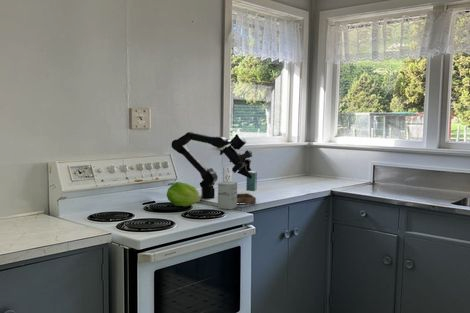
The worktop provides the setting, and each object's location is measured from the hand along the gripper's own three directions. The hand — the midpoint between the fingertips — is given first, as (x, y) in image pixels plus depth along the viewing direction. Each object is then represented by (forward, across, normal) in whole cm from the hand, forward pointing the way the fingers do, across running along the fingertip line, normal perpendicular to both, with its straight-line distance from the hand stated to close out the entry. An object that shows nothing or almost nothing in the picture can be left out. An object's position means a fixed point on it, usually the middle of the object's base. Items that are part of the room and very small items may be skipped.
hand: (252, 177), depth 249 cm
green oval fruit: (-10, -27, +28) cm, 40 cm away
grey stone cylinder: (+4, -21, +14) cm, 26 cm away
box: (+5, -6, +12) cm, 15 cm away
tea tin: (+5, 0, +5) cm, 7 cm away
